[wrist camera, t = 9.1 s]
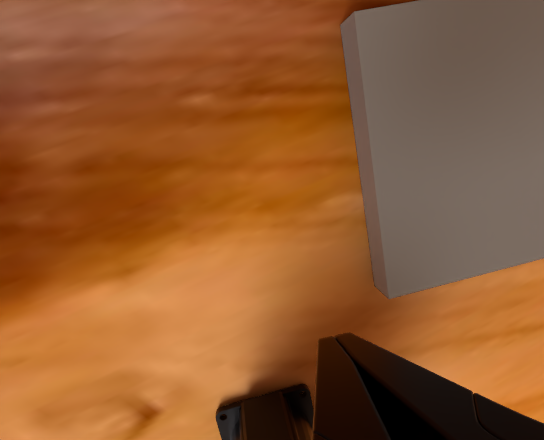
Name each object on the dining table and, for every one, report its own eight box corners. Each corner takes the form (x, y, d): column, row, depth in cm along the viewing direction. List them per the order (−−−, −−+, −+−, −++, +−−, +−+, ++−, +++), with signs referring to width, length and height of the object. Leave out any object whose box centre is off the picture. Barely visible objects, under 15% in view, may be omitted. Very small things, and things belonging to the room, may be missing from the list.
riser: (534, 244, 24) (562, 253, 22) (374, 285, 23) (388, 299, 21) (534, -10, 20) (567, -26, 18) (340, 25, 19) (354, 11, 17)
